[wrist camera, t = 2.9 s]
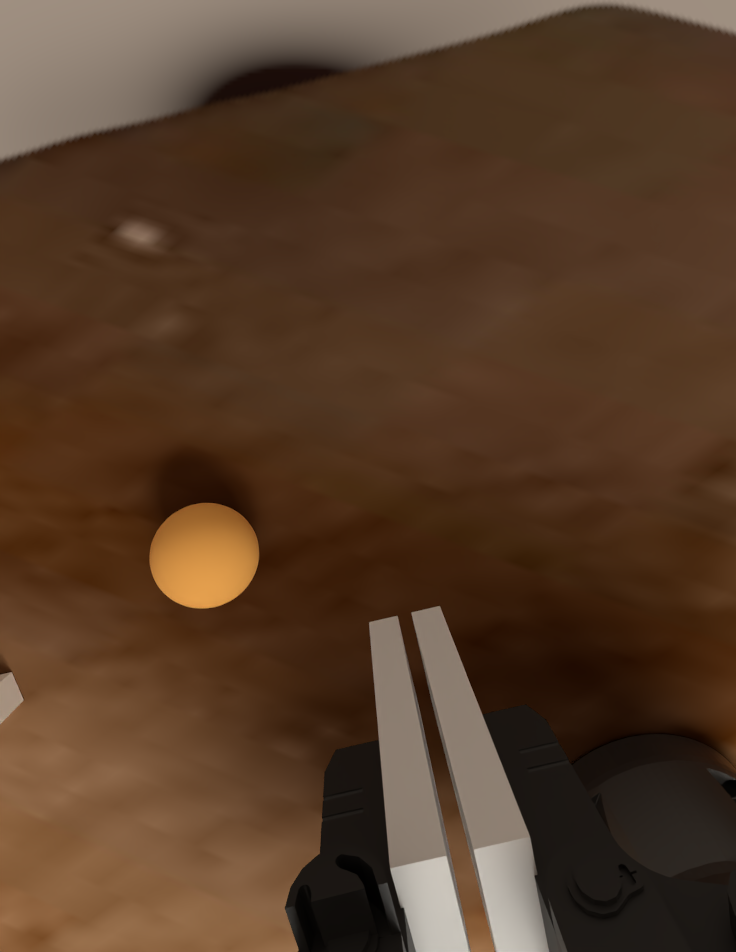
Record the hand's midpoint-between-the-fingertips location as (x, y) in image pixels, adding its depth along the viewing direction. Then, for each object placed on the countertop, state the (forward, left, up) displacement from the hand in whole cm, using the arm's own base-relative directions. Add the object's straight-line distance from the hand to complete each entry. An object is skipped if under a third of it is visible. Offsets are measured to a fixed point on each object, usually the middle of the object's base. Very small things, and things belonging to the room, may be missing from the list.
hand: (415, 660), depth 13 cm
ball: (+10, 0, -14) cm, 17 cm away
